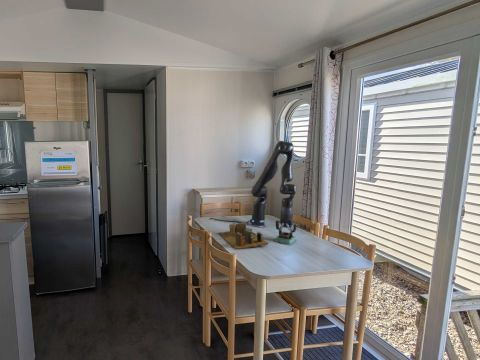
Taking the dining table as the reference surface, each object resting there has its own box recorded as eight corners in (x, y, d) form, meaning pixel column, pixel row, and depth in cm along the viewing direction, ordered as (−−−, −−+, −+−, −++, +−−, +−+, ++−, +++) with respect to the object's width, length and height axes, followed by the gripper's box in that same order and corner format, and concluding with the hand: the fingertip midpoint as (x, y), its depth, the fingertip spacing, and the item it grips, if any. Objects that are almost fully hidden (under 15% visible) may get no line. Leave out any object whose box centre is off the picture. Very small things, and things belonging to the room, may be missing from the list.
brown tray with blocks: (271, 248, 192) (269, 226, 190) (236, 254, 189) (234, 232, 187) (248, 231, 226) (246, 212, 224) (218, 236, 224) (216, 217, 221)
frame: (287, 240, 200) (288, 236, 200) (278, 238, 204) (279, 234, 204) (291, 237, 206) (291, 233, 206) (282, 235, 210) (283, 231, 210)
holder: (289, 244, 198) (289, 240, 198) (275, 241, 204) (275, 237, 204) (295, 240, 207) (295, 236, 206) (281, 237, 213) (281, 233, 212)
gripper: (299, 213, 201) (298, 237, 203) (277, 210, 210) (276, 233, 213) (296, 215, 195) (294, 240, 198) (274, 212, 205) (272, 235, 207)
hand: (285, 236), depth 205 cm, fingers closed on frame, 6 cm apart
